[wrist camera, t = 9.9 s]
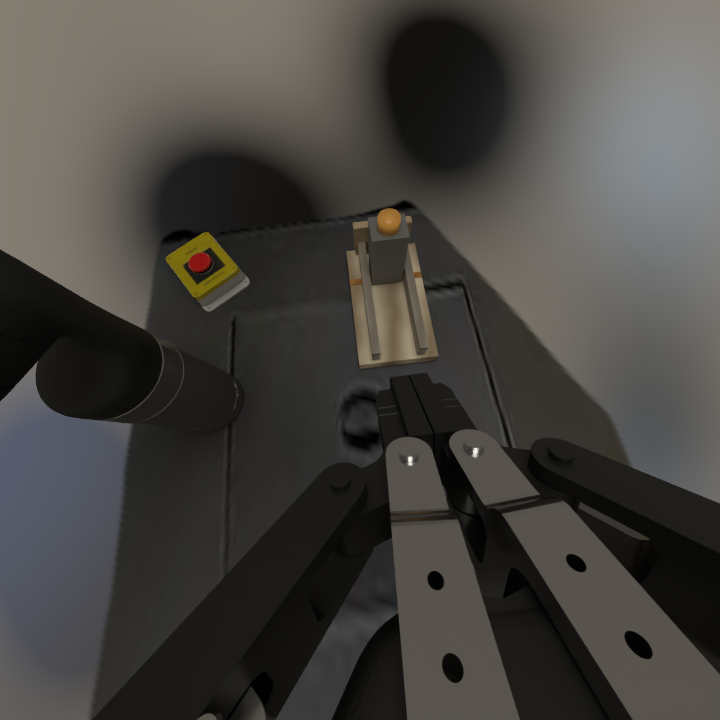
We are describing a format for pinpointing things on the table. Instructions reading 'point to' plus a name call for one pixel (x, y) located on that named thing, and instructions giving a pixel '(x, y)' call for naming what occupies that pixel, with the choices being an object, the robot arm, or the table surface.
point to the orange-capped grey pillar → (387, 246)
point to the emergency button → (207, 271)
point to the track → (389, 310)
